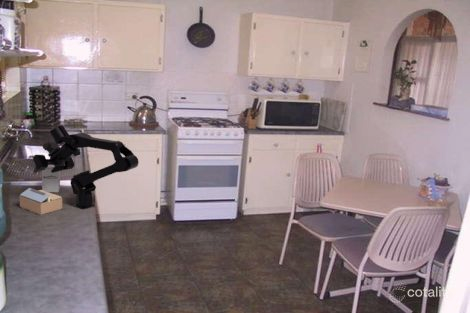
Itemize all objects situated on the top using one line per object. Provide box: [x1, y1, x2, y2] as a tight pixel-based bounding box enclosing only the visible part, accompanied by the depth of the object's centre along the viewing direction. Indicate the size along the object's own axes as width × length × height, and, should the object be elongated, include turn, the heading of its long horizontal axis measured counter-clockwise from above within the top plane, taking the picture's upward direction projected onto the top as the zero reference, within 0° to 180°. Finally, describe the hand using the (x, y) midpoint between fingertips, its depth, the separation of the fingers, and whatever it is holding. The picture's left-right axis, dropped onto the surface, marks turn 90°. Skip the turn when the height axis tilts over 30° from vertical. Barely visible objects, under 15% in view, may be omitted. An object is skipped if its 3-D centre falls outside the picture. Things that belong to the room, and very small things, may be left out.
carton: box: [19, 189, 63, 215], centre depth 183 cm, size 14×10×7 cm
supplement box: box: [41, 165, 61, 193], centre depth 207 cm, size 7×7×13 cm
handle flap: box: [19, 187, 50, 203], centre depth 180 cm, size 14×5×1 cm, turn 58°
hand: (43, 172), depth 195 cm, fingers open, 9 cm apart
